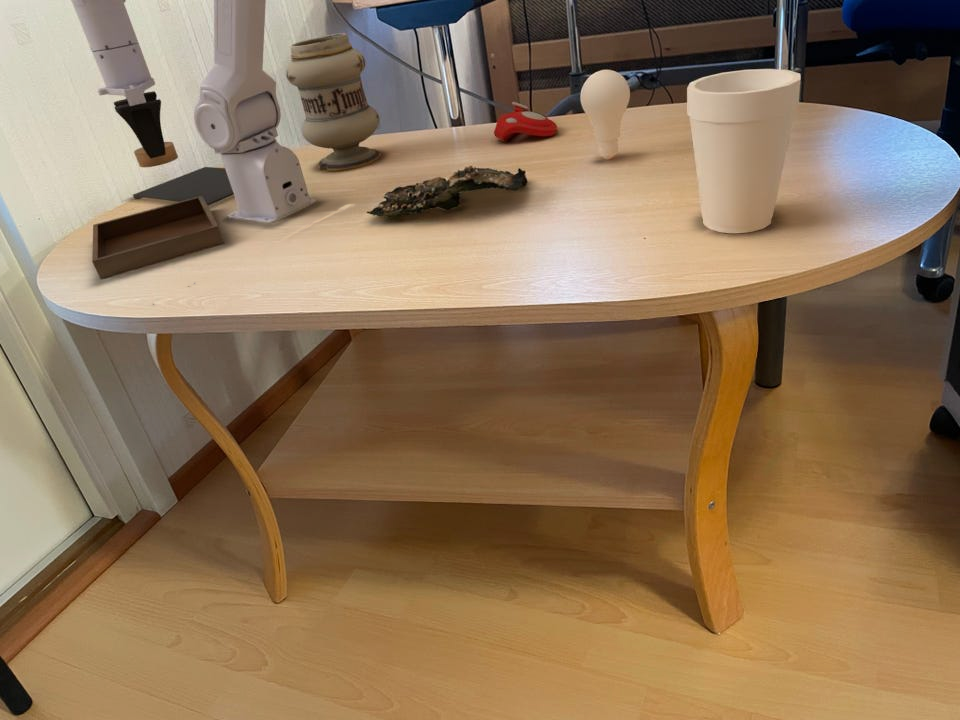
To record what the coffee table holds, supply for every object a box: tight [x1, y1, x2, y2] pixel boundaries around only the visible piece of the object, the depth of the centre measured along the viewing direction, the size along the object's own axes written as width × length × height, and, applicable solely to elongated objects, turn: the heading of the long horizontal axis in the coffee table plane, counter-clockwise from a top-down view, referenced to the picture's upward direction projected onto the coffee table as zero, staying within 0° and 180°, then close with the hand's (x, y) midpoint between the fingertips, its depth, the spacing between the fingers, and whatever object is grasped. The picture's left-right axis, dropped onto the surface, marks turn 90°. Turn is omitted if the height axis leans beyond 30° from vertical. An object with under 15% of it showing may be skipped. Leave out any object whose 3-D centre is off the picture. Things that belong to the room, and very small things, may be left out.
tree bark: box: [366, 165, 529, 219], centre depth 85 cm, size 19×6×15 cm
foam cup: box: [686, 68, 802, 234], centre depth 65 cm, size 10×9×13 cm
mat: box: [132, 166, 234, 206], centre depth 110 cm, size 20×14×1 cm
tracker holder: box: [493, 101, 558, 142], centre depth 108 cm, size 12×4×10 cm
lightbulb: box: [579, 69, 631, 160], centre depth 89 cm, size 6×6×11 cm
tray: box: [91, 196, 225, 280], centre depth 88 cm, size 16×14×3 cm
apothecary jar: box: [285, 33, 381, 172], centre depth 106 cm, size 12×12×18 cm
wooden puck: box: [133, 141, 179, 168], centre depth 97 cm, size 5×5×2 cm
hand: (156, 152), depth 97 cm, fingers closed on wooden puck, 5 cm apart
